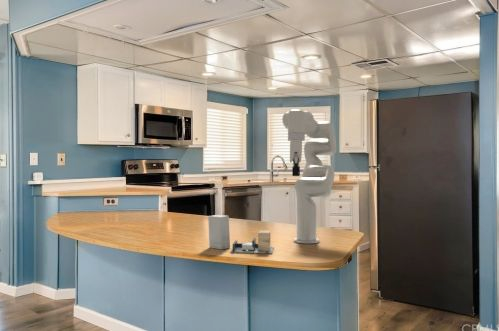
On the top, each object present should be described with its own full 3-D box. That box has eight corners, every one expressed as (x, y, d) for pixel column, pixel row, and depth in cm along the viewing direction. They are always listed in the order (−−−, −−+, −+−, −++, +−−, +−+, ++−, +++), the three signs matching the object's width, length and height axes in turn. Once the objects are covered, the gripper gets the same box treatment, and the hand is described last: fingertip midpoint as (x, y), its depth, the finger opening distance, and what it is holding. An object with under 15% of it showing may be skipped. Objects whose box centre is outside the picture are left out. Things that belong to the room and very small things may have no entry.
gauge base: (234, 247, 197) (234, 239, 197) (273, 248, 194) (273, 240, 194) (230, 253, 185) (230, 244, 185) (272, 254, 183) (272, 246, 182)
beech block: (259, 248, 192) (259, 230, 192) (270, 248, 191) (270, 230, 191) (258, 250, 187) (258, 232, 187) (269, 251, 186) (269, 232, 186)
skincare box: (230, 248, 195) (230, 215, 195) (221, 250, 190) (221, 216, 190) (217, 245, 200) (217, 214, 200) (207, 247, 196) (207, 215, 196)
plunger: (244, 246, 194) (244, 237, 193) (256, 247, 193) (256, 237, 193) (241, 251, 184) (241, 241, 184) (253, 251, 184) (253, 241, 184)
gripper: (288, 138, 200) (288, 174, 201) (287, 136, 183) (287, 176, 184) (304, 138, 200) (304, 174, 200) (304, 136, 182) (304, 176, 183)
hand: (296, 175), depth 192 cm, fingers open, 9 cm apart
